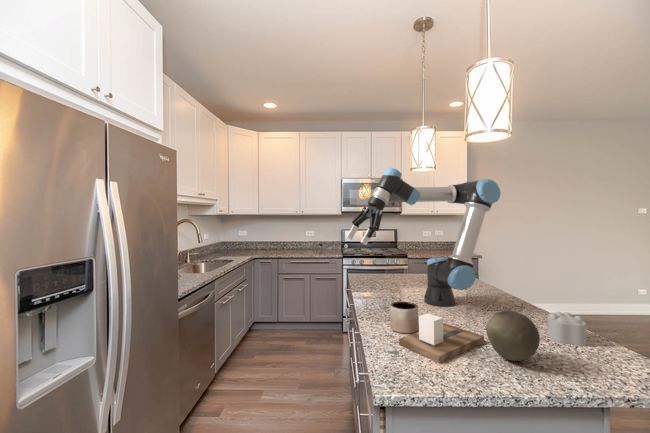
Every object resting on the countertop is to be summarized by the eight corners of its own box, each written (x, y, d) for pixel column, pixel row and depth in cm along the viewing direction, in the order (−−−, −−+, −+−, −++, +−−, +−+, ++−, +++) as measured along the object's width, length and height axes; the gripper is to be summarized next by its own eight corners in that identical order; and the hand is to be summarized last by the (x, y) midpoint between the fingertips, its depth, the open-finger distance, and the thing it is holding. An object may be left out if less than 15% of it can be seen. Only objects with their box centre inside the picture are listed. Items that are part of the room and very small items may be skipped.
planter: (407, 322, 127) (407, 300, 127) (424, 331, 116) (424, 307, 116) (385, 326, 123) (384, 303, 123) (401, 336, 113) (400, 310, 113)
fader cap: (428, 335, 106) (428, 313, 106) (443, 341, 101) (443, 318, 101) (419, 339, 103) (418, 316, 103) (434, 345, 98) (433, 321, 98)
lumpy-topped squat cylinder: (552, 342, 106) (552, 318, 106) (543, 329, 117) (543, 307, 117) (590, 347, 101) (590, 322, 101) (577, 333, 113) (577, 310, 113)
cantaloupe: (483, 347, 102) (483, 303, 102) (532, 354, 97) (532, 308, 97) (490, 367, 89) (489, 317, 89) (547, 376, 84) (546, 322, 84)
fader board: (443, 328, 119) (443, 322, 119) (484, 342, 106) (483, 335, 106) (399, 344, 105) (399, 338, 105) (439, 363, 92) (439, 355, 92)
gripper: (359, 194, 144) (337, 232, 142) (388, 196, 121) (363, 242, 119) (370, 202, 147) (349, 240, 145) (401, 205, 124) (377, 250, 122)
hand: (355, 241), depth 132 cm, fingers open, 13 cm apart
